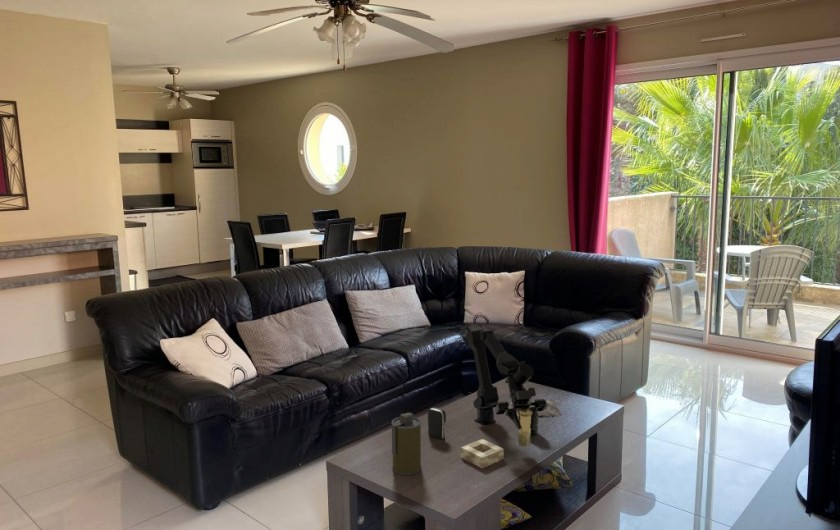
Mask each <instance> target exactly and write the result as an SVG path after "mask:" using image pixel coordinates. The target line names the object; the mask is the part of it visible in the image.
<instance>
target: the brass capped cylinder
mask: <svg viewBox="0 0 840 530" xmlns="http://www.w3.org/2000/svg"><path fill="white" fill-rule="evenodd" d="M518 413H519V418H518V420H519V423H520V429H518V441H517V444H518V445H519V446H521V447H529V446H531V438H532V436H531V414H532V410H531V409H529V408H520V409H518Z"/></svg>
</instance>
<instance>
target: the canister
mask: <svg viewBox="0 0 840 530" xmlns="http://www.w3.org/2000/svg"><path fill="white" fill-rule="evenodd" d="M421 426H422V420H421V419H419V417H415V414H414V413H412V412H406V413H401V414H400V416H398V417H396V418H394V419H392V420H391V454H392V467H391V468H392V469H391V470H392V471H393V472H394V473H395V474H398V475H402V476H411V475H415V474H418V473H420V471H421V470H422V464H421V463H422V459H421V457H422V452H421V450H422V449H421V446H422V445H421V444H422V443H421V441H422V440H421V438H422V437H421V436H422V435H421V431H422V430H421V428H422V427H421Z"/></svg>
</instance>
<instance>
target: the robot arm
mask: <svg viewBox="0 0 840 530" xmlns="http://www.w3.org/2000/svg"><path fill="white" fill-rule="evenodd" d="M465 338H466V339H465V340H466V341H467V345H468V347H469V348H470V349H471V350H472V351H473V358H474V362H475V367H476V368H475V369H476V373H477V378H478V379H477V380H478V385H479V386H478V389H477V392H476V396H477V397H476V398H475V400H474V401H473V403H472V404H473V408H474V409H477V413H476V415H477V418H474V421H475V422H477V423H479V424H481V425H484V426H487V425H489V424H493V423H495V422H496V421H497V420H496V419H494V417H495V416H494V415H505V416H506V417H508V418H509V419H510V420H511V421H512V422H513V423H514V425H515V427H516V428H517V429H518V430H519V429H520V423H519V418H518V416H517V411H516V409H520V408H529V409H531V410H532V414H531V429H532V428H533V421H534V414H535V413H536V412H540V411H544V409H545V408H546V406H547V403H546V401H547V400H546V399H545V398H539V399H538V398H536V399H535V400H533V401H534V402H533V403H528V402H529V401H531V400H532V397H536V395H537V393H536V390H535V389H536V388H535V387H528V389H526V387H525V385H524V384H526V383H527V382H528V381H530V379H531V378H532V377H533V376H534V374H535V371H534V368H533V367H532V366H531V365H530V364H527V363H526V361H524V360H523V361H520V362H519V361H518V359H517V358H516V357H514V356H513V355H512V354H511V353H508V352H507V351H506V350H505V348H504V347H503V345H502V344H501V343H500V341H499V339H498V338H497V337H496V336H495V334H494V330H492V329H484V328H475V329H469V330H468V331H467V333H466V334H465ZM486 347H487V348H488V350H489V351H490V352H491V354H492V356H493V357H494V358H495V360H496V368H497V369H498V372H499V373H500V374H501V375H503V376H505V375H507V377H506V379H505V381H504V382H505V384H507V385H508V389H509V390H508V391H509V398H510V399H511V402H512V404H509V403H510V402H508V401H499V400H500V399H499V397H500V396H499V393H498V388H497V387H496V386H494V385H493V384H492V380H491V375H490V371H489V365H488V364H489V363H488V358H487V353H486ZM494 411H495V412H494Z"/></svg>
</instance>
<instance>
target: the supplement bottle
mask: <svg viewBox="0 0 840 530" xmlns="http://www.w3.org/2000/svg"><path fill="white" fill-rule="evenodd" d="M539 418H540V417H539V413H538V412H536V413H535V414H534V421H533V428H532V429H531V437H535V436H537V435H539V421H540V419H539Z"/></svg>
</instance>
